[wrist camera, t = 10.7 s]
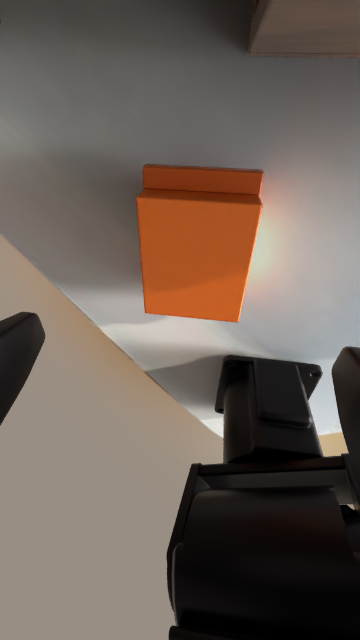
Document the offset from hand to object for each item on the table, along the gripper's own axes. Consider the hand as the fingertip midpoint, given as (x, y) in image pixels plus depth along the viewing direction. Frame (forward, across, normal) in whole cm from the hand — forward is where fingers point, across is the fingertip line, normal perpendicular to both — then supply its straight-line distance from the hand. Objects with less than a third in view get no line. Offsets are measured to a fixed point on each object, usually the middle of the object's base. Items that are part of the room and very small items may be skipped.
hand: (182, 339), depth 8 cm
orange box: (+7, 0, 0) cm, 7 cm away
